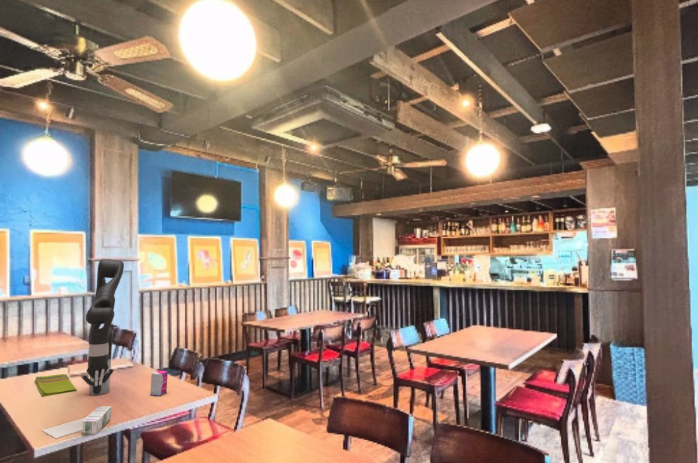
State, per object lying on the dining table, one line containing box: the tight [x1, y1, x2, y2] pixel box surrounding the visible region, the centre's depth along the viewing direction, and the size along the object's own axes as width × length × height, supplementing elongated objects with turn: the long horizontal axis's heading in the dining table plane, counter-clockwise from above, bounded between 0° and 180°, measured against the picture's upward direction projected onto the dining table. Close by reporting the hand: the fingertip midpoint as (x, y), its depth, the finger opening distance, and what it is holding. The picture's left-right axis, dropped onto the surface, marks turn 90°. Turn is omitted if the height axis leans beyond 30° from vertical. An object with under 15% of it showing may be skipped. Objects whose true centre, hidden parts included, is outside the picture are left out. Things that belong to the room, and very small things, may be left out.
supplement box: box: [149, 370, 169, 397], centre depth 212 cm, size 6×6×12 cm
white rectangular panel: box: [41, 417, 86, 440], centre depth 170 cm, size 13×18×1 cm
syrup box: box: [81, 406, 112, 435], centre depth 170 cm, size 6×6×14 cm
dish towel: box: [34, 373, 78, 398], centre depth 225 cm, size 15×36×3 cm, turn 43°
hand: (96, 393), depth 177 cm, fingers closed
